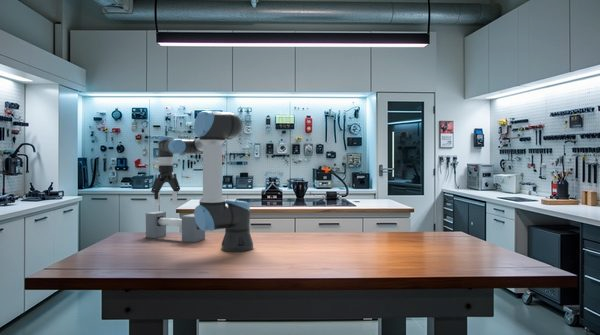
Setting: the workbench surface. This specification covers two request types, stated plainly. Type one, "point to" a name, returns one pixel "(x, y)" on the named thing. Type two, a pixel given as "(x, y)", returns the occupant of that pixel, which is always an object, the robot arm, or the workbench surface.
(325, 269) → the workbench surface
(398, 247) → the workbench surface
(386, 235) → the workbench surface
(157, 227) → the socket block
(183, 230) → the sleeve
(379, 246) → the workbench surface
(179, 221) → the tube
